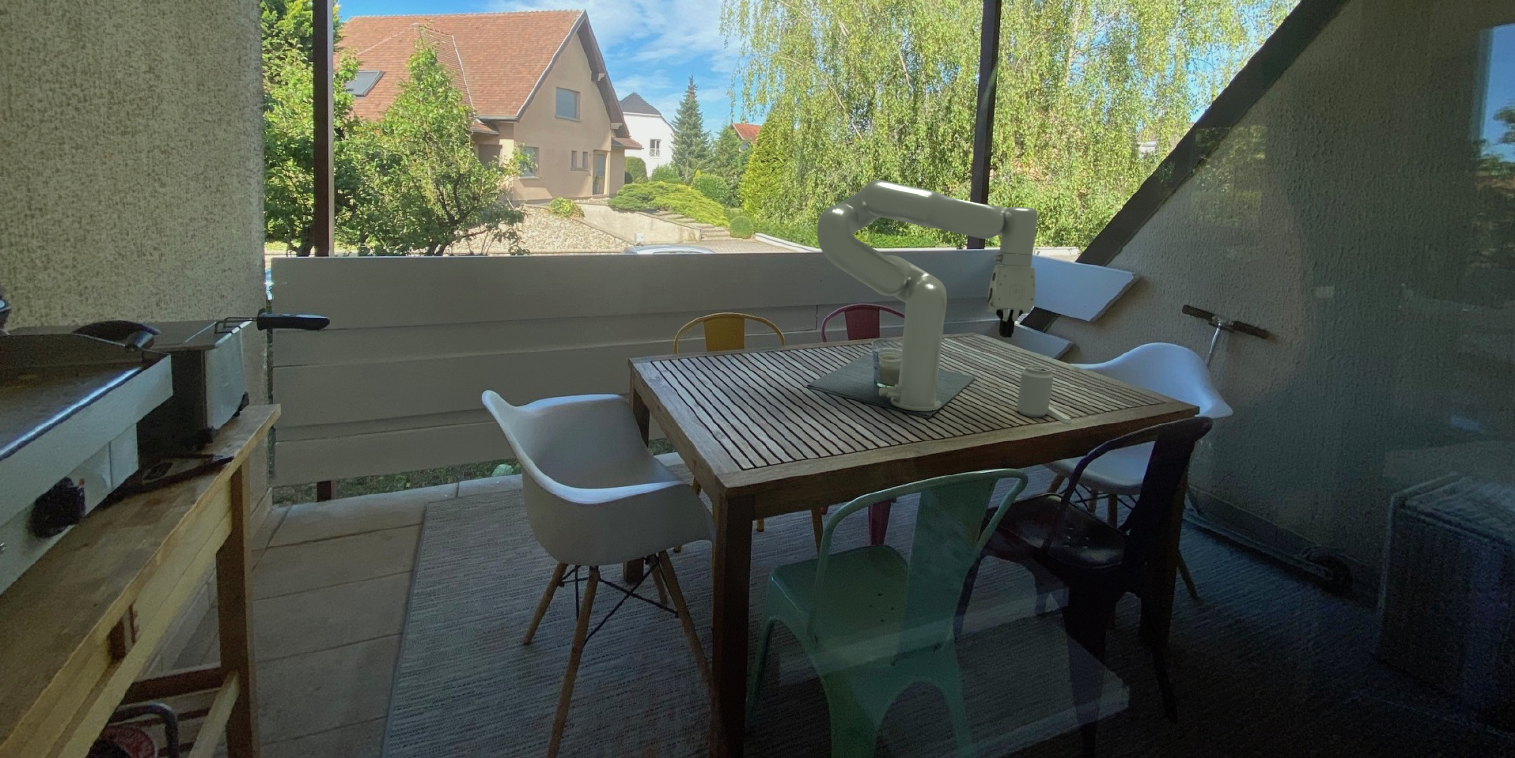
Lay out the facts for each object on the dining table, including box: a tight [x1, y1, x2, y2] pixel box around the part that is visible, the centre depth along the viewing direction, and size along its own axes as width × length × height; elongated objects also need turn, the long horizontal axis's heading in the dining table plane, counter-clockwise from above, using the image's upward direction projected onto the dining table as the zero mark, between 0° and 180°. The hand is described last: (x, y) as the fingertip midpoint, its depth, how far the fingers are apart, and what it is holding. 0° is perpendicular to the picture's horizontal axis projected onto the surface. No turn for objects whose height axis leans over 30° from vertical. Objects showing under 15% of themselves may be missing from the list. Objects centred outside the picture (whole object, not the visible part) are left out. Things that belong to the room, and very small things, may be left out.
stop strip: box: [1047, 405, 1072, 425], centre depth 195 cm, size 2×18×1 cm, turn 8°
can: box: [1016, 364, 1054, 418], centre depth 192 cm, size 8×8×12 cm
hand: (1005, 336), depth 187 cm, fingers closed
